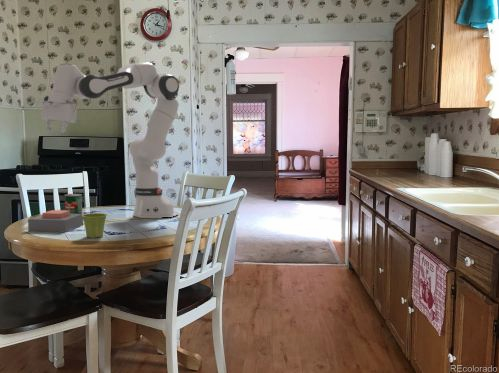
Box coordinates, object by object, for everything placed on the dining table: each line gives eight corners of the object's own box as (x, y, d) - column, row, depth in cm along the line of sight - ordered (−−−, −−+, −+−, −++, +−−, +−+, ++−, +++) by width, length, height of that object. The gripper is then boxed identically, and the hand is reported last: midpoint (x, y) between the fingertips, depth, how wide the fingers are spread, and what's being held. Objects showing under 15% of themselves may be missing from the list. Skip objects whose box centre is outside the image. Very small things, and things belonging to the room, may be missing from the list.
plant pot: (87, 233, 182) (87, 212, 181) (110, 234, 181) (110, 213, 180) (78, 238, 172) (77, 216, 171) (102, 239, 172) (102, 217, 171)
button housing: (83, 225, 200) (82, 213, 199) (65, 232, 184) (65, 220, 183) (48, 223, 201) (48, 212, 200) (28, 231, 185) (28, 219, 185)
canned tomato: (82, 215, 226) (82, 193, 225) (82, 217, 218) (81, 195, 217) (65, 215, 223) (65, 193, 222) (64, 218, 216) (63, 195, 215)
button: (70, 220, 196) (69, 210, 195) (61, 223, 188) (60, 213, 187) (52, 219, 196) (52, 210, 196) (42, 222, 188) (42, 213, 188)
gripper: (83, 103, 192) (77, 134, 192) (53, 101, 203) (47, 131, 202) (70, 99, 187) (64, 131, 187) (40, 97, 197) (34, 128, 197)
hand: (55, 131), depth 195 cm, fingers open, 8 cm apart
